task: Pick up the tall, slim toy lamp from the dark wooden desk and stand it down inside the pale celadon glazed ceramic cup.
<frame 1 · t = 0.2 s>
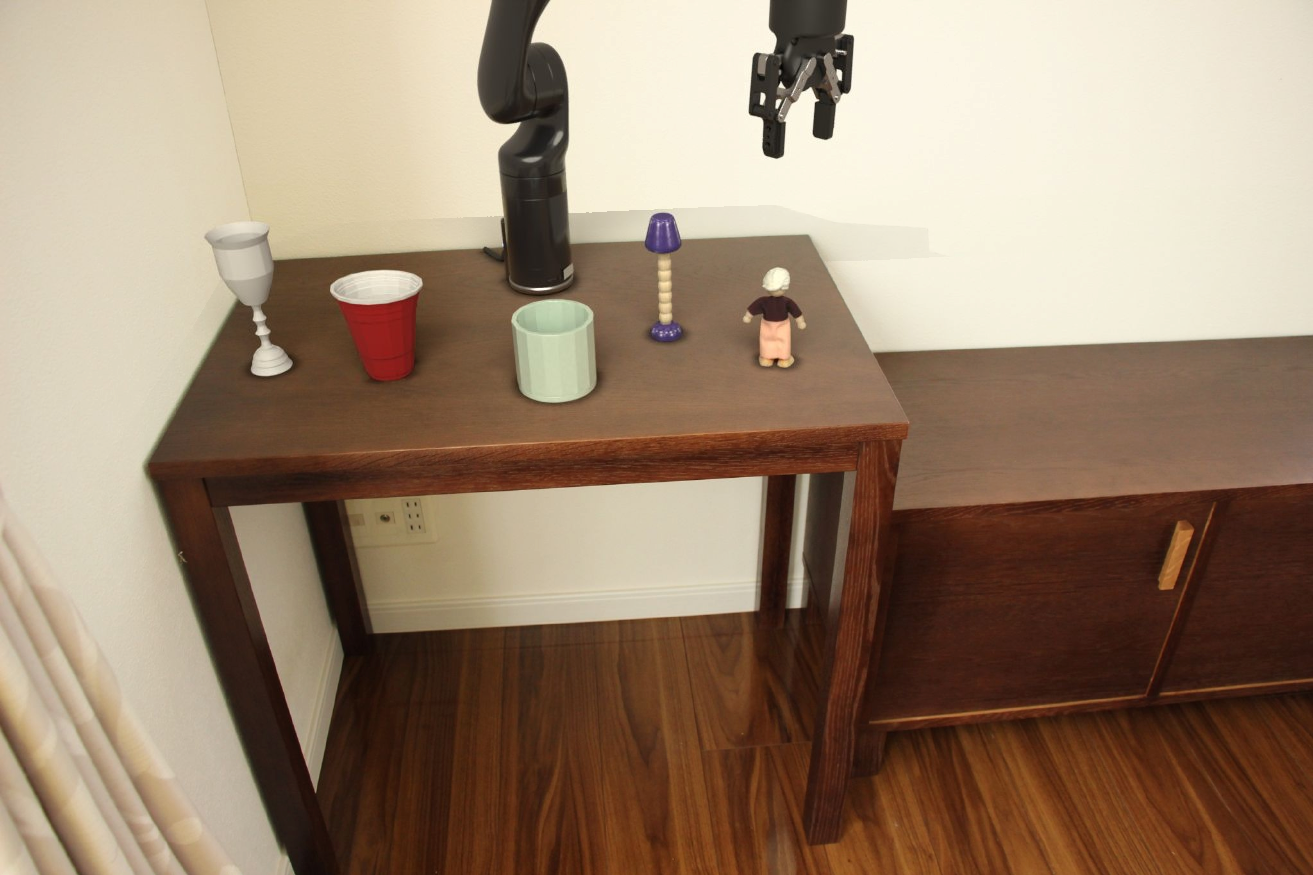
hand: (798, 147, 104), 29 cm above the table, tool pointing down, fingers open, 8 cm apart
toy lamp: (664, 336, 132), on the table
glazed cup: (557, 382, 121), on the table
grandmother figurine: (771, 362, 125), on the table
plastic cup: (392, 370, 125), on the table
chalice: (272, 367, 126), on the table
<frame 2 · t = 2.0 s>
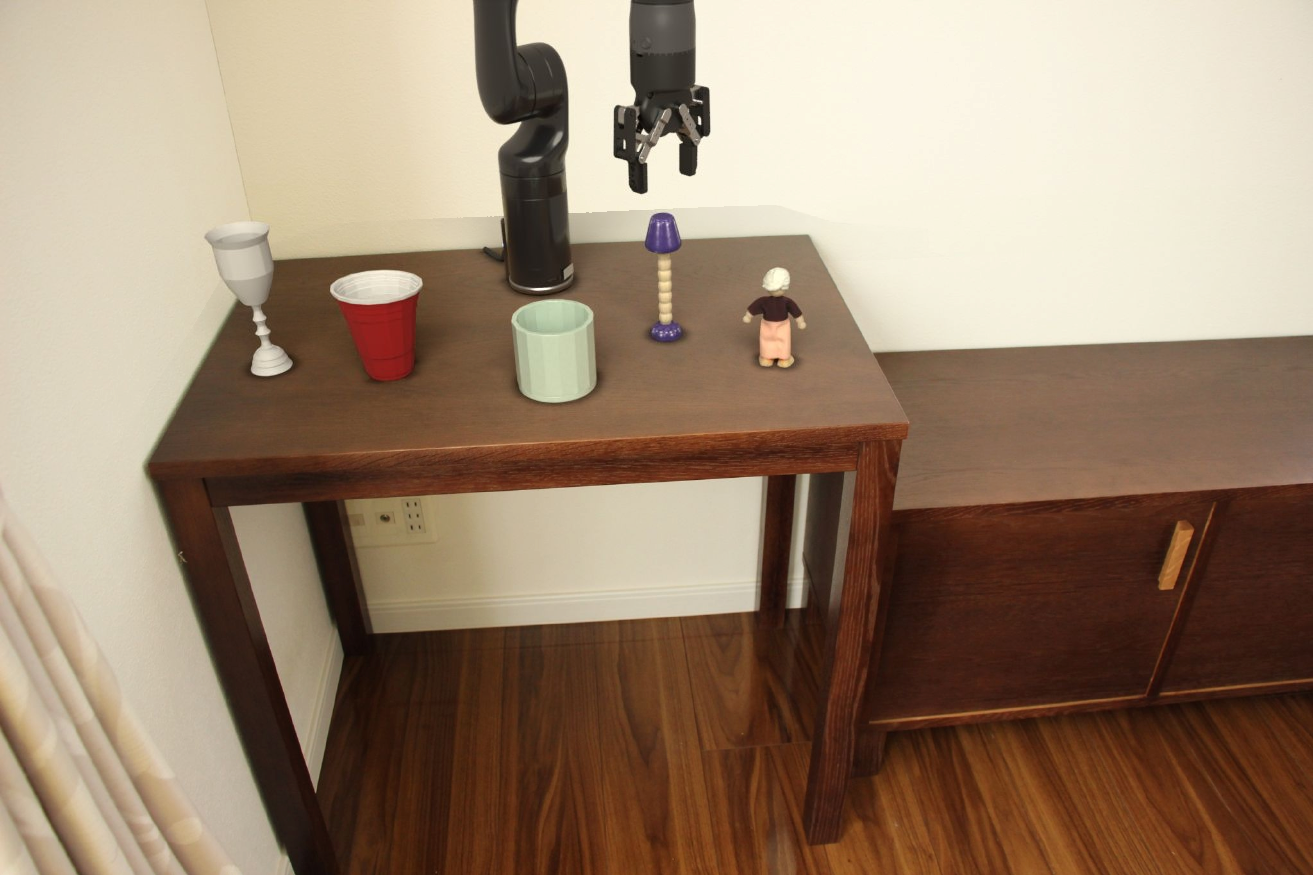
hand: (663, 183, 120), 21 cm above the table, tool pointing down, fingers open, 8 cm apart
nothing on the table moved.
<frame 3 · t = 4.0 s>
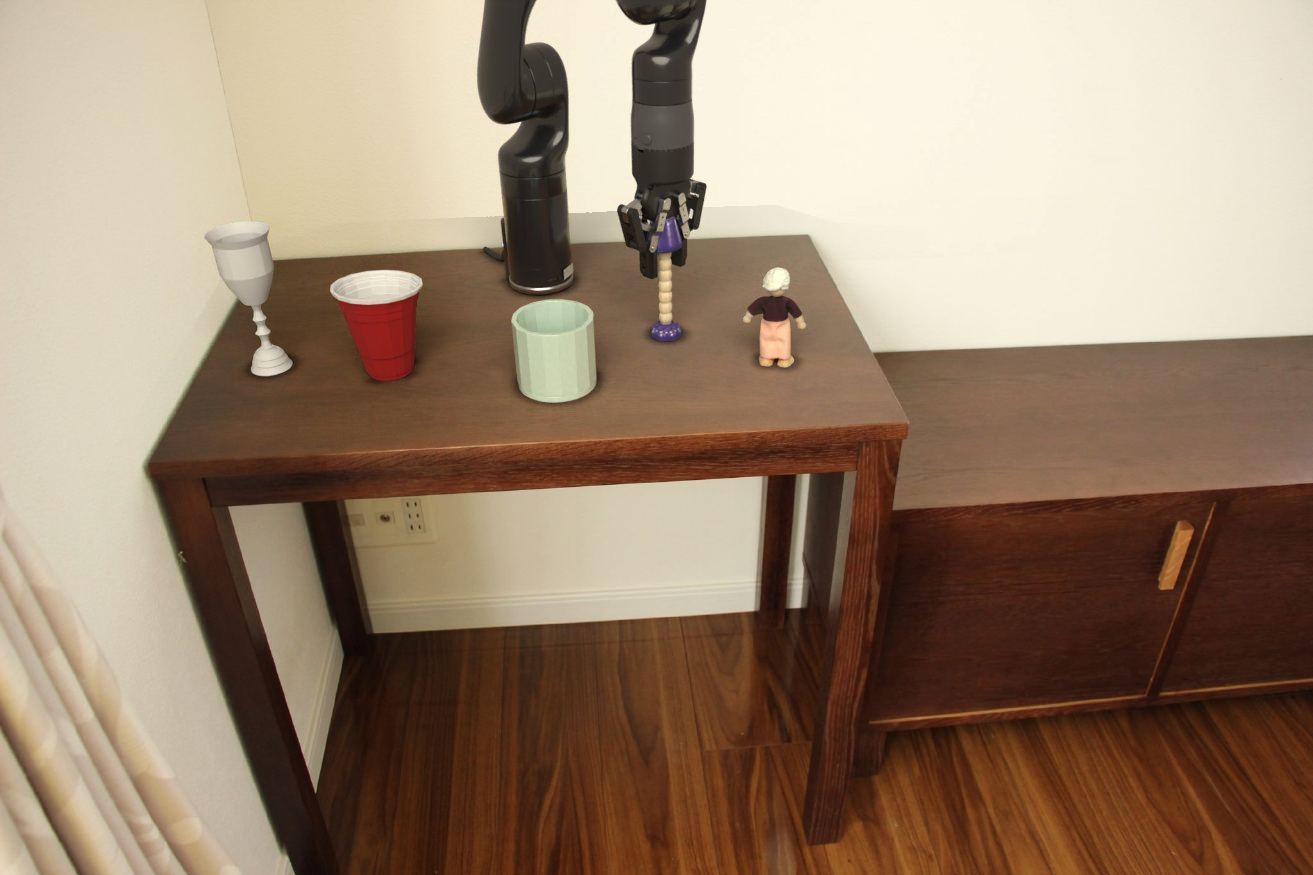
hand: (663, 270, 126), 9 cm above the table, tool pointing down, fingers closed on toy lamp, 4 cm apart
toy lamp: (664, 336, 132), on the table, touching gripper
everything else where it was.
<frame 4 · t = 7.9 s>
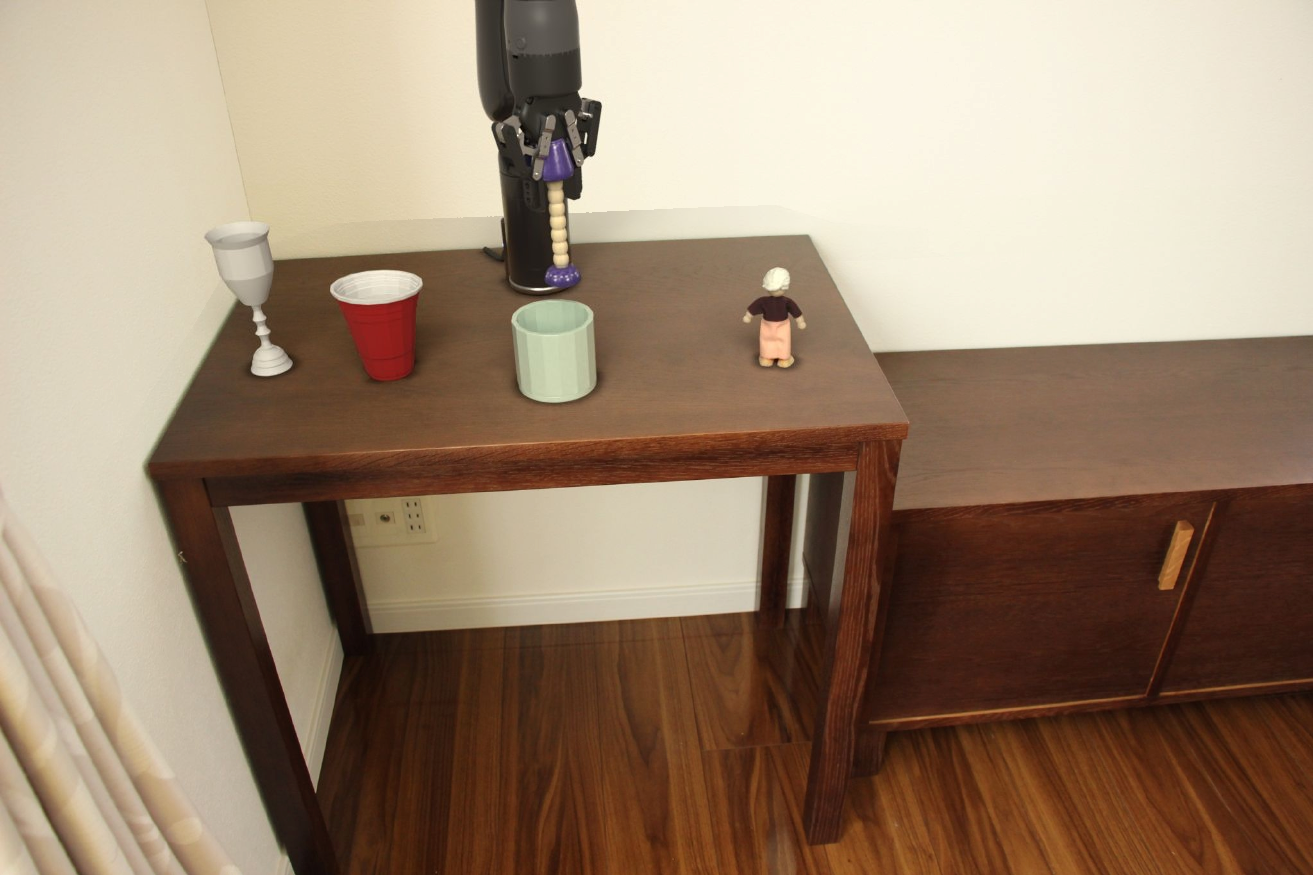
hand: (554, 203, 110), 22 cm above the table, tool pointing down, fingers closed on toy lamp, 4 cm apart
toy lamp: (560, 282, 115), point 13 cm above the table, touching gripper
everything else where it was.
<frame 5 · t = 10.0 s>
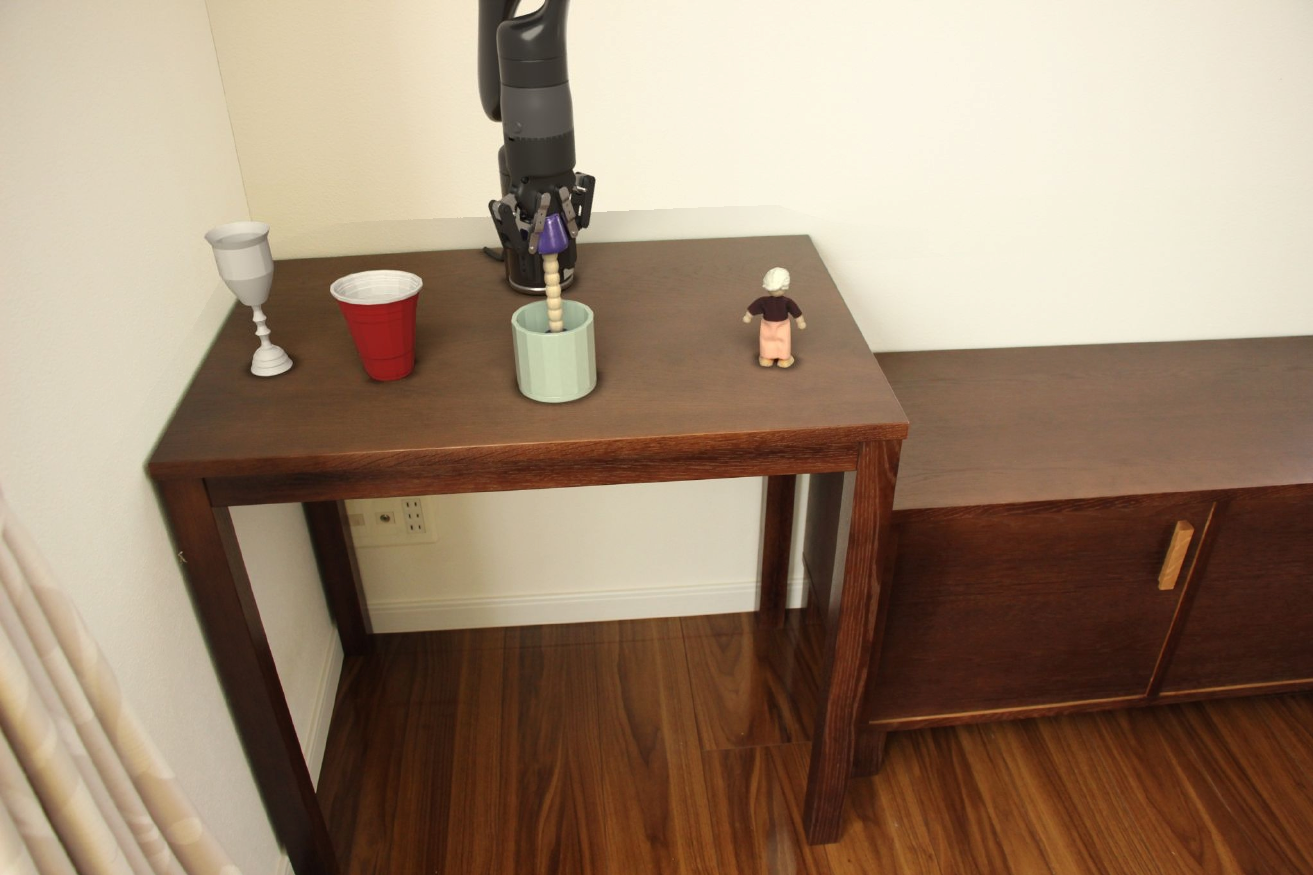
hand: (549, 273, 113), 14 cm above the table, tool pointing down, fingers closed on toy lamp, 4 cm apart
toy lamp: (556, 347, 119), point 5 cm above the table, touching gripper
everything else where it was.
when the fingers open (10 cm above the table, at t = 11.7 s): toy lamp stays where it is, resting on glazed cup.
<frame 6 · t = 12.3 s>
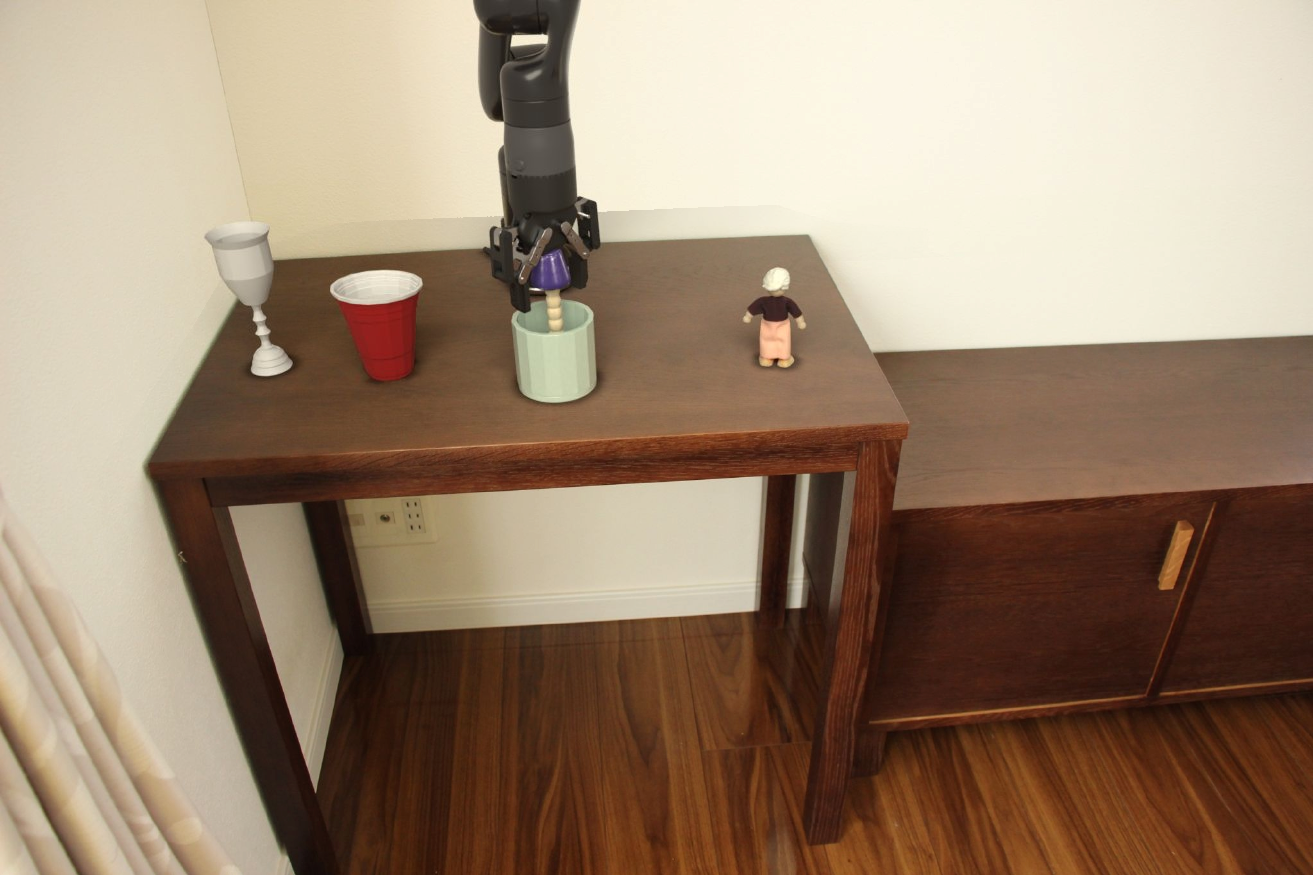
hand: (550, 298, 115), 11 cm above the table, tool pointing down, fingers open, 8 cm apart
toy lamp: (558, 378, 121), point 1 cm above the table, touching glazed cup
glazed cup: (557, 382, 121), on the table, touching toy lamp
everything else where it was.
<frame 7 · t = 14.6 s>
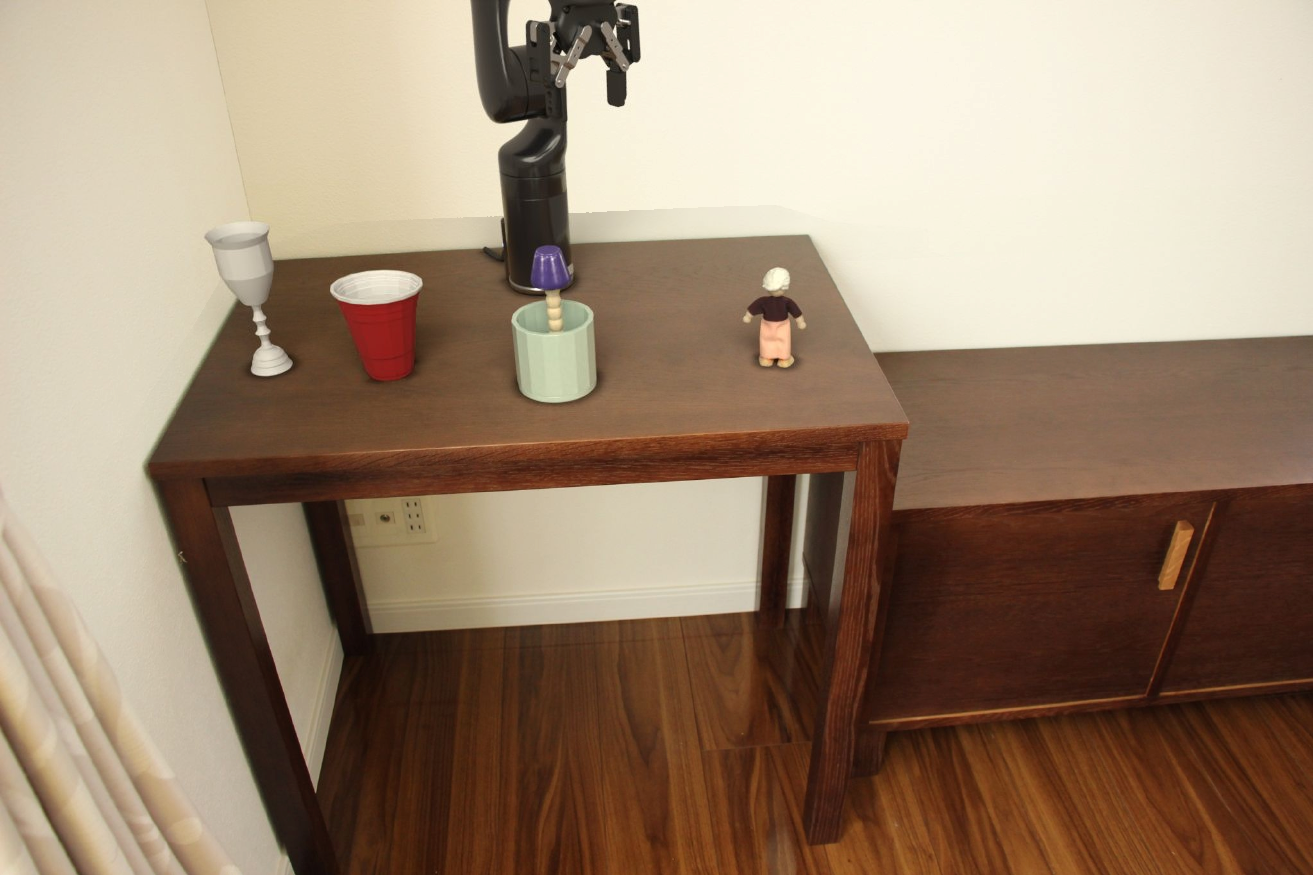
hand: (587, 113, 109), 31 cm above the table, tool pointing down, fingers open, 8 cm apart
nothing on the table moved.
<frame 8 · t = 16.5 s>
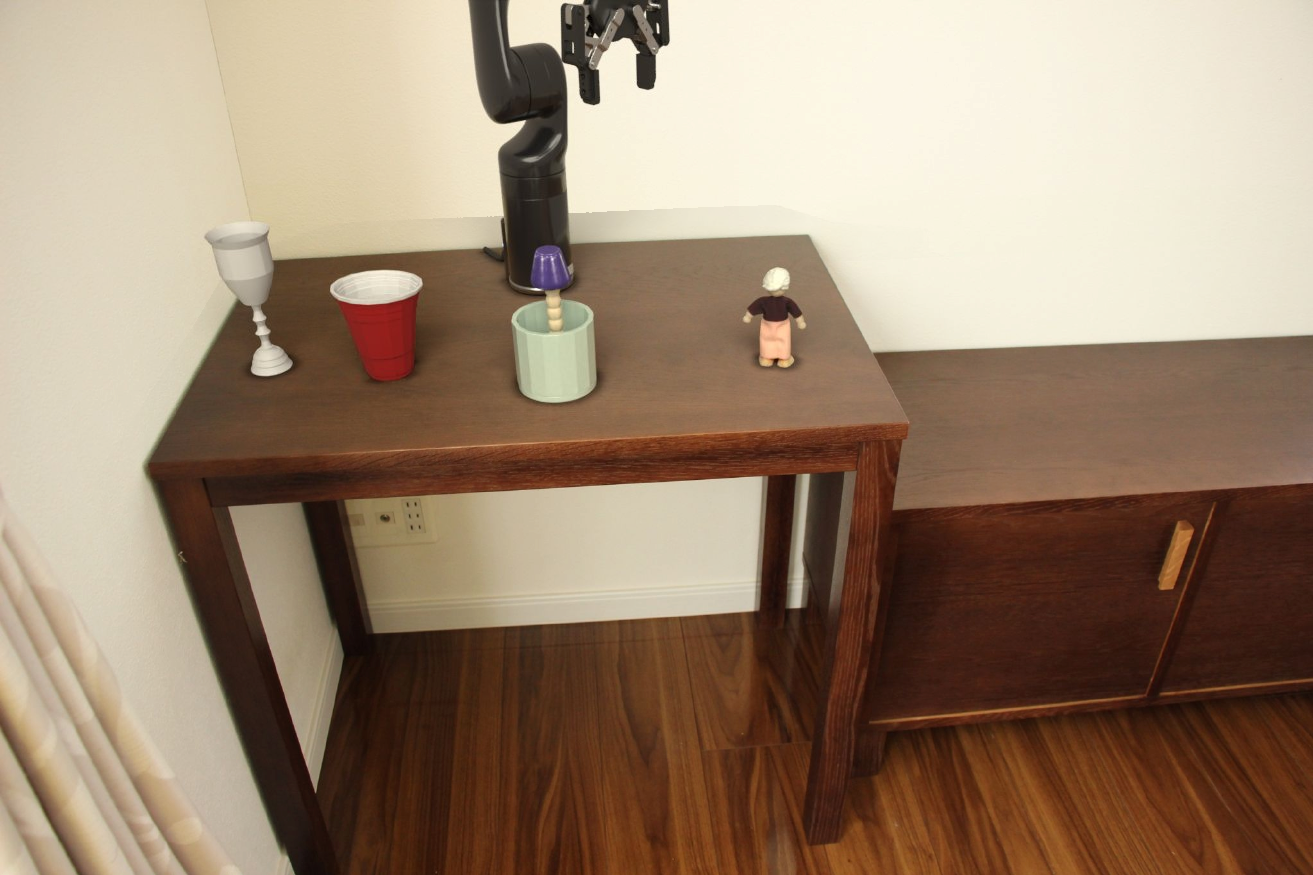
hand: (618, 96, 111), 32 cm above the table, tool pointing down, fingers open, 8 cm apart
nothing on the table moved.
at the end: toy lamp 0.1 cm off-centre in the glazed cup, point 0.6 cm above the glazed cup's base; toy lamp tilted 0°; glazed cup tilted 0° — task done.
